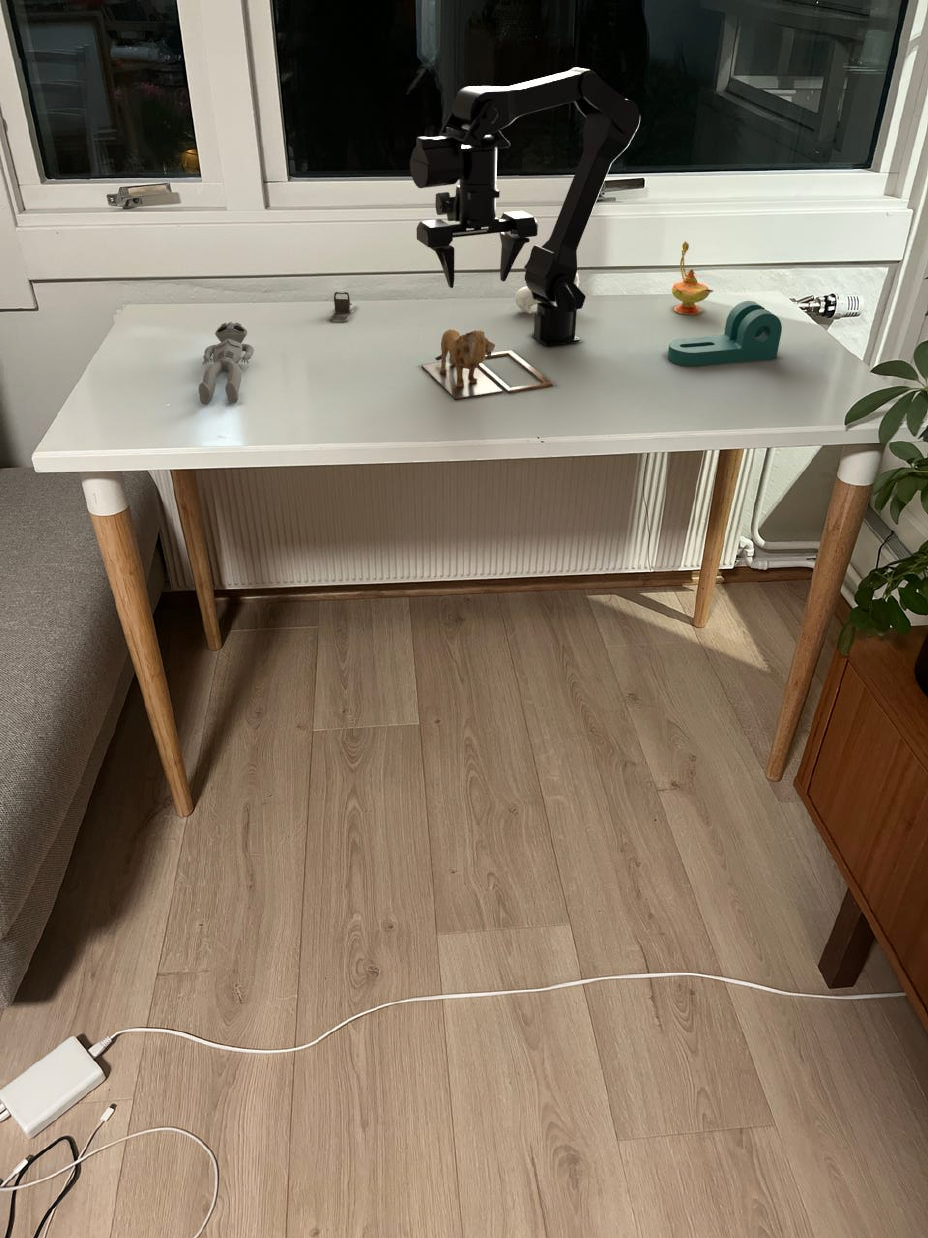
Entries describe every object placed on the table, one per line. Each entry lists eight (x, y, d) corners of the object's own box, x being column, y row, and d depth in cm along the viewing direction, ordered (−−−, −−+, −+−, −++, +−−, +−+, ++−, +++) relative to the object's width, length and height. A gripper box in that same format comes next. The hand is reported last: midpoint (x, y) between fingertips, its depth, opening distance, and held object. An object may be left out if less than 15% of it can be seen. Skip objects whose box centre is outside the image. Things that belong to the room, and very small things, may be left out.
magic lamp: (686, 329, 175) (695, 267, 168) (659, 298, 189) (666, 240, 183) (723, 328, 175) (733, 266, 169) (693, 297, 190) (701, 239, 183)
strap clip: (339, 307, 185) (338, 284, 183) (355, 307, 185) (353, 284, 182) (330, 321, 178) (328, 298, 176) (346, 322, 178) (344, 298, 175)
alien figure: (187, 381, 144) (207, 319, 164) (193, 411, 147) (212, 346, 167) (242, 379, 145) (255, 318, 164) (246, 409, 148) (258, 345, 167)
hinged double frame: (511, 352, 165) (511, 349, 165) (552, 385, 153) (552, 383, 153) (420, 365, 160) (420, 363, 160) (456, 401, 148) (456, 398, 148)
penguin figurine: (580, 268, 175) (514, 275, 176) (581, 315, 180) (517, 321, 181) (576, 258, 180) (512, 265, 181) (577, 304, 185) (515, 310, 186)
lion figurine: (498, 387, 152) (499, 331, 147) (469, 395, 150) (470, 338, 144) (448, 359, 162) (448, 305, 157) (421, 365, 160) (419, 311, 154)
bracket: (757, 344, 168) (765, 299, 164) (776, 358, 163) (785, 311, 159) (661, 352, 165) (666, 306, 161) (677, 367, 160) (683, 320, 155)
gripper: (511, 166, 157) (508, 264, 166) (403, 175, 151) (406, 277, 160) (541, 179, 149) (536, 282, 158) (428, 190, 143) (430, 296, 152)
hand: (477, 283), depth 157 cm, fingers open, 9 cm apart
